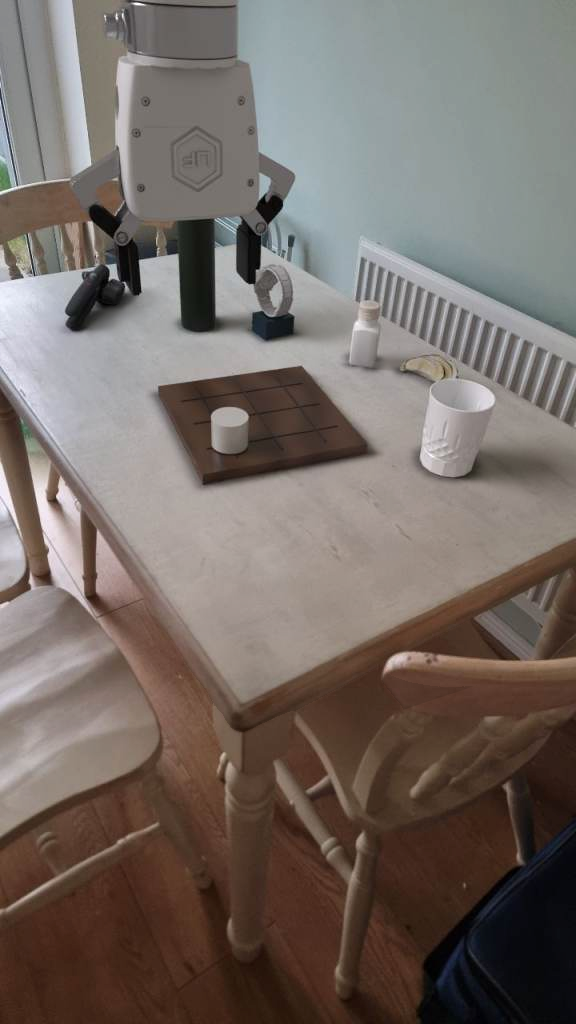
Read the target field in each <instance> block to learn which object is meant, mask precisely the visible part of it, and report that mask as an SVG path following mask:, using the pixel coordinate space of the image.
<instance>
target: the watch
mask: <svg viewBox="0 0 576 1024" xmlns="http://www.w3.org/2000/svg"><path fill="white" fill-rule="evenodd" d="M277 284H279V286H280V287H279V288H280V291H281V293H280V294H281V295H280V298H279V300H278V303H277V306H276V307H275V306H274V304H273V301H272V299H271V295H270V292H272V291H273V289H274V286H276V285H277ZM252 285H253V292H254V294H255V295H256V299H257V302H258V305H259V307H260V309H261V310H259V311H254V312H252V313H251V331H252V332H253V333H254V334H256V335H257V336H259V338H261V339H262V340H264V341H266V342H267V341H270V340H274V339H279V338H282V337H287V336H291V335H294V331H295V318H296V317H295V315H293V314H292V313H291V312H290V309H291V307H292V304H293V301H294V288H293V281H292V279H291V275H290V274H289V272H288V271H287V269H286V268H285V267H284V266H282V265H281V264H278V265H277V264H275V263H272V264H267V265H264V266H262V267H260V269H259V270H256V283H255V284H252Z"/></svg>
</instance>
